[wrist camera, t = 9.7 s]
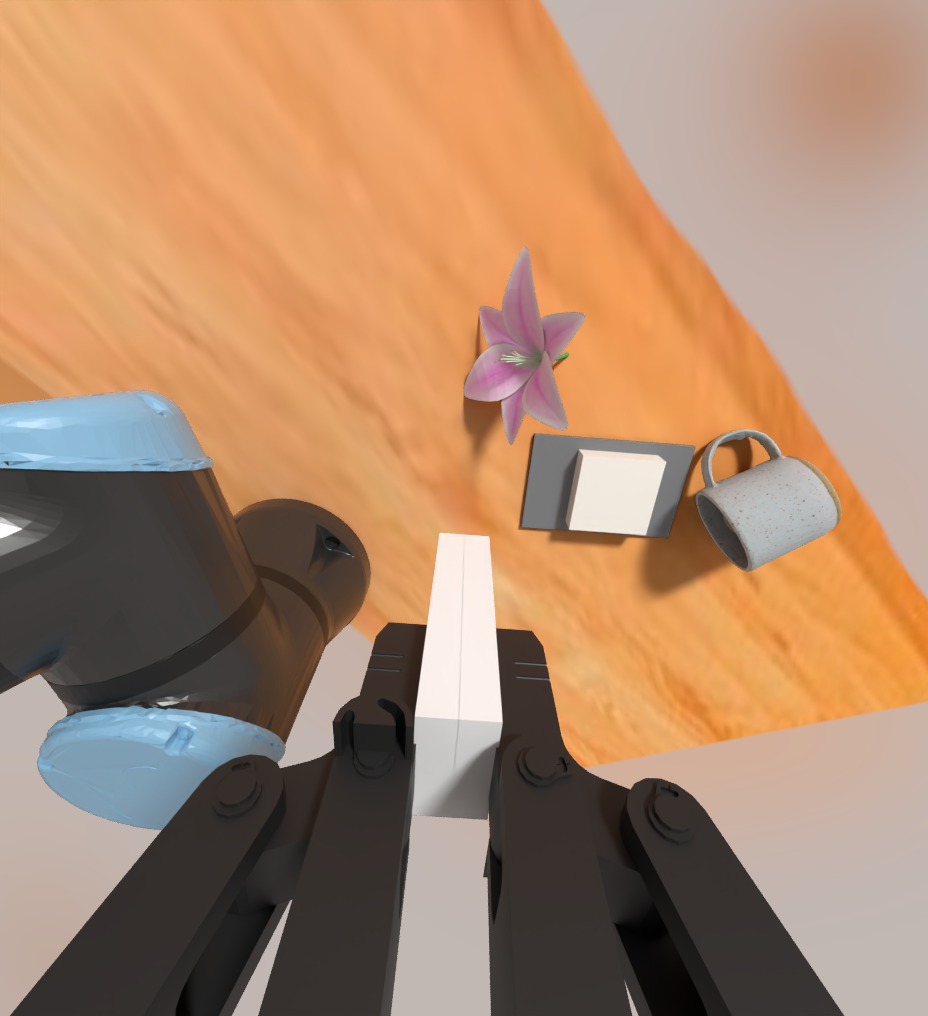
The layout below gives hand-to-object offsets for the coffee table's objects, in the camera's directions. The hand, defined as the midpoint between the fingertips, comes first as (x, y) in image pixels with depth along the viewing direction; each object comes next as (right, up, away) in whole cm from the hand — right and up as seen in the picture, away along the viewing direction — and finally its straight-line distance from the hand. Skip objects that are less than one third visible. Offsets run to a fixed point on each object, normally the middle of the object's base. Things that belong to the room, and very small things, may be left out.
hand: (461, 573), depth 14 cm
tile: (+10, +4, +26) cm, 28 cm away
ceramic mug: (+25, +4, +27) cm, 37 cm away
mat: (+13, +4, +27) cm, 30 cm away
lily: (+4, +15, +22) cm, 27 cm away
